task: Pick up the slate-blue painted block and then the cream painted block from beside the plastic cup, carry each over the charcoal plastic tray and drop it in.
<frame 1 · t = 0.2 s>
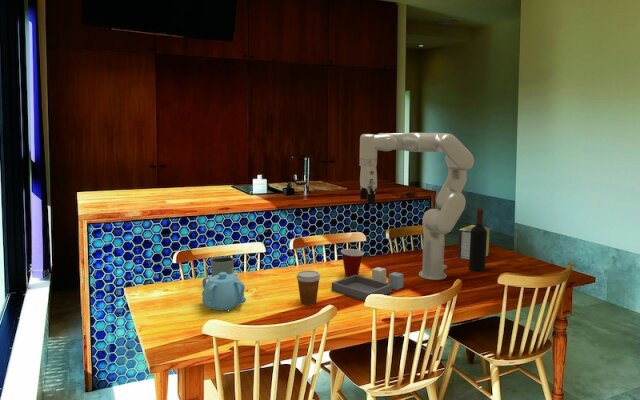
hand: (367, 201, 233), 37 cm above the table, tool pointing down, fingers open, 9 cm apart
wine bottle: (476, 270, 257), on the table
decorative pot: (223, 306, 207), on the table
plastic cup: (352, 276, 246), on the table
disposable coffee cup: (308, 303, 211), on the table
blue block: (395, 287, 230), on the table
protein box: (472, 257, 281), on the table
cream block: (378, 281, 238), on the table
drinking glass: (222, 286, 232), on the table
tray: (361, 291, 224), on the table
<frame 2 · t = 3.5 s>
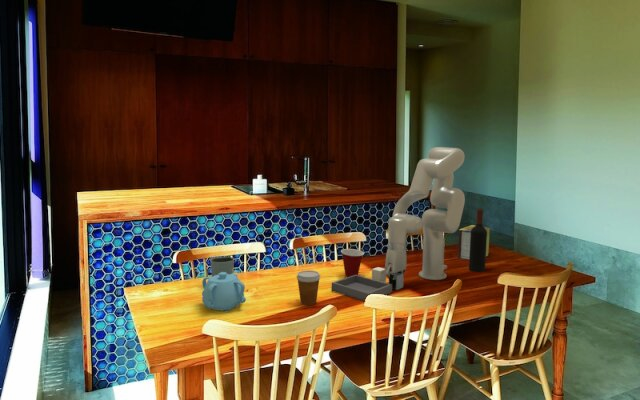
hand: (395, 286, 230), 1 cm above the table, tool pointing down, fingers closed on blue block, 4 cm apart
blue block: (395, 287, 230), on the table, touching gripper
everything else where it was.
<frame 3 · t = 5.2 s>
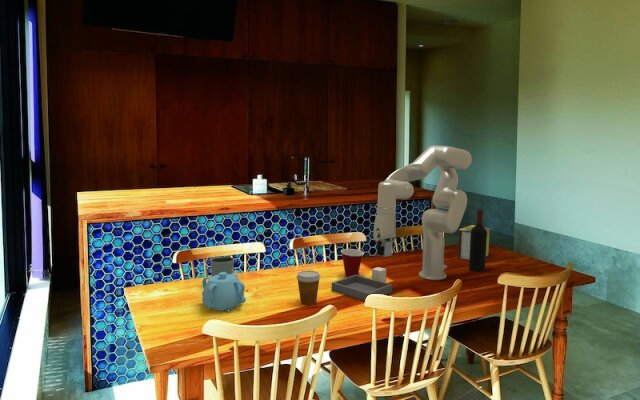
hand: (384, 253, 223), 16 cm above the table, tool pointing down, fingers closed on blue block, 4 cm apart
blue block: (384, 255, 223), point 16 cm above the table, touching gripper
everything else where it was.
when the fingers open (4 cm above the table, at t = 7.2 s): blue block drops 3 cm, resting on tray.
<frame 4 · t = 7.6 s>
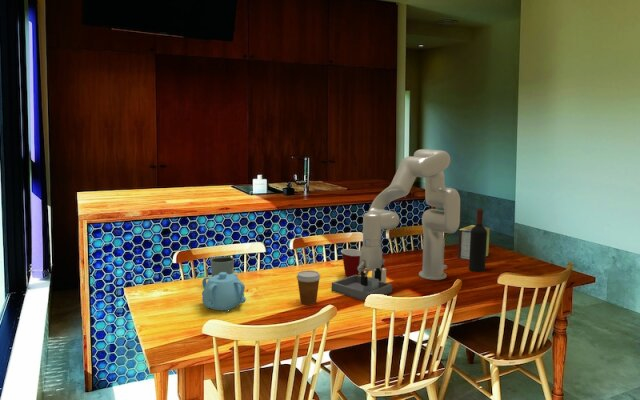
hand: (371, 282, 220), 5 cm above the table, tool pointing down, fingers open, 8 cm apart
blue block: (370, 293, 221), point 1 cm above the table, touching tray
everything else where it was.
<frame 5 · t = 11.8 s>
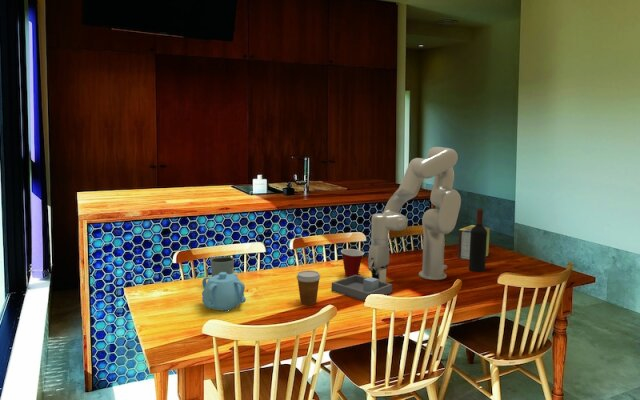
hand: (378, 280, 238), 1 cm above the table, tool pointing down, fingers closed on cream block, 4 cm apart
cream block: (378, 281, 238), on the table, touching gripper
everything else where it was.
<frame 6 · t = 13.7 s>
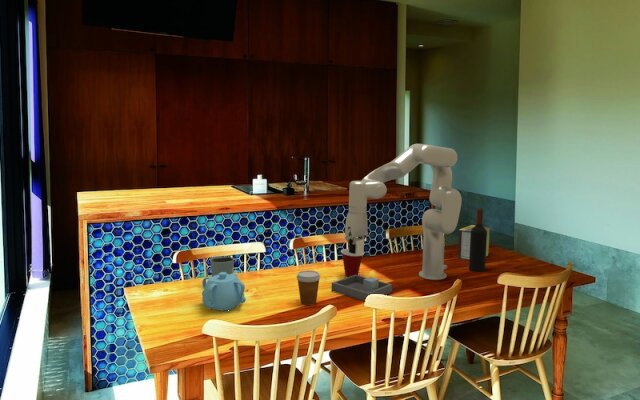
hand: (356, 251, 227), 16 cm above the table, tool pointing down, fingers closed on cream block, 4 cm apart
cream block: (356, 252, 227), point 16 cm above the table, touching gripper
everything else where it was.
when the fingers open (4 cm above the table, at t = 15.5 s): cream block drops 3 cm, resting on tray.
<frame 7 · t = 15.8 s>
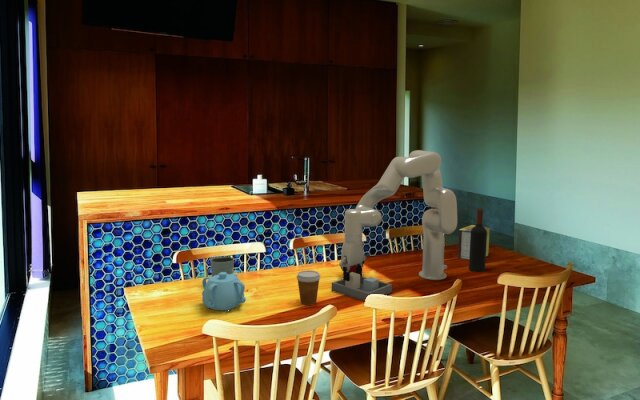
hand: (352, 278, 227), 5 cm above the table, tool pointing down, fingers open, 7 cm apart
cream block: (352, 287, 228), point 1 cm above the table, touching tray
everything else where it was.
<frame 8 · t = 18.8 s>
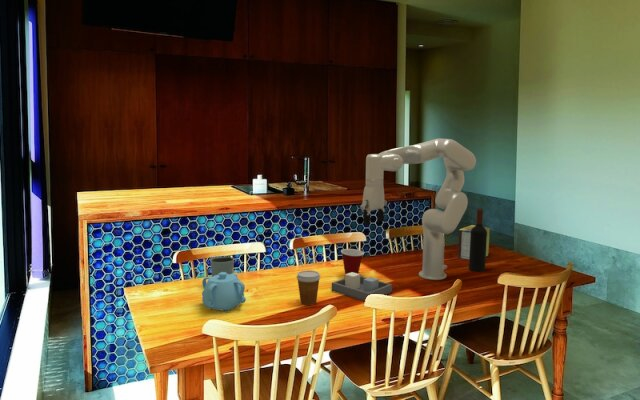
hand: (373, 222, 228), 28 cm above the table, tool pointing down, fingers open, 9 cm apart
nothing on the table moved.
at the end: blue block inside the target area on the tray (5.0 cm from its centre), point 0.6 cm above the tray's base; cream block inside the target area on the tray (5.0 cm from its centre), point 0.6 cm above the tray's base; the gripper is holding nothing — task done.
